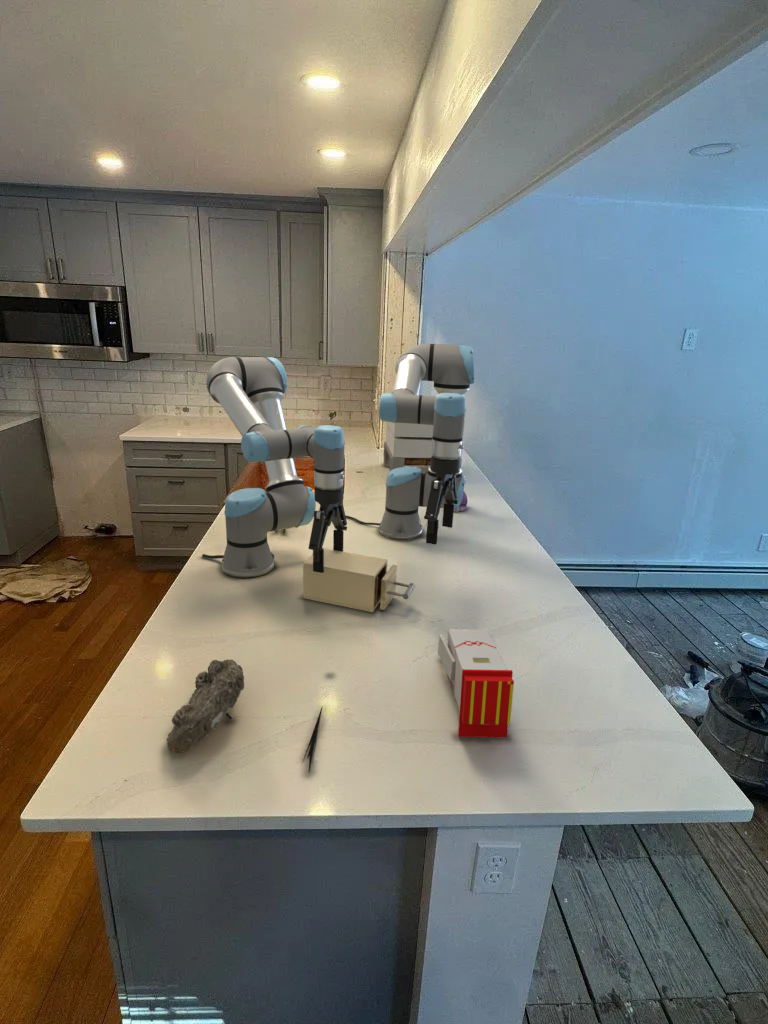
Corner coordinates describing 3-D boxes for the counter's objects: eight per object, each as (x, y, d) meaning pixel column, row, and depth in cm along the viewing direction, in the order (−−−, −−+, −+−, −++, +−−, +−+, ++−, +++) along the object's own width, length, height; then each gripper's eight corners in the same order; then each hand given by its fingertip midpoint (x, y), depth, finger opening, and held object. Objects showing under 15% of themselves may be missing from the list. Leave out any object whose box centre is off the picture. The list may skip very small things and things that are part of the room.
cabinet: (385, 593, 158) (387, 559, 154) (372, 612, 148) (374, 575, 144) (319, 581, 163) (320, 547, 160) (303, 598, 153) (303, 562, 150)
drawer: (415, 597, 154) (417, 568, 151) (405, 614, 146) (407, 584, 143) (332, 581, 161) (332, 553, 158) (318, 596, 152) (318, 567, 149)
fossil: (192, 660, 117) (244, 628, 112) (224, 691, 120) (276, 661, 115) (142, 746, 98) (202, 712, 93) (182, 779, 101) (242, 748, 96)
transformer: (382, 463, 289) (386, 382, 275) (445, 464, 293) (451, 384, 279) (390, 482, 257) (394, 392, 243) (460, 483, 261) (468, 394, 247)
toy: (488, 613, 130) (523, 677, 101) (484, 667, 133) (517, 744, 104) (435, 612, 130) (455, 676, 101) (432, 666, 133) (451, 743, 103)
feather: (331, 679, 122) (336, 673, 122) (307, 777, 96) (313, 769, 95) (324, 675, 122) (329, 669, 121) (298, 772, 95) (304, 764, 95)
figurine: (454, 513, 222) (457, 476, 217) (439, 505, 230) (442, 470, 225) (473, 510, 226) (477, 474, 221) (459, 503, 234) (462, 468, 229)
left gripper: (322, 502, 134) (322, 583, 141) (359, 476, 157) (357, 547, 163) (294, 498, 136) (295, 578, 143) (334, 473, 159) (333, 543, 166)
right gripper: (445, 469, 130) (438, 554, 137) (473, 448, 152) (465, 522, 159) (414, 465, 133) (409, 548, 140) (446, 445, 155) (440, 518, 162)
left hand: (328, 561), depth 153 cm, fingers open, 13 cm apart
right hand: (439, 534), depth 150 cm, fingers open, 13 cm apart
